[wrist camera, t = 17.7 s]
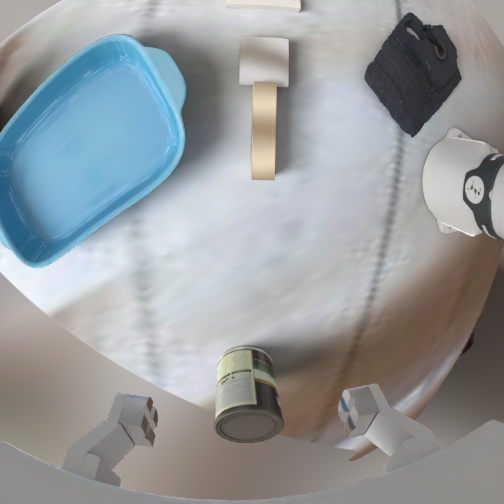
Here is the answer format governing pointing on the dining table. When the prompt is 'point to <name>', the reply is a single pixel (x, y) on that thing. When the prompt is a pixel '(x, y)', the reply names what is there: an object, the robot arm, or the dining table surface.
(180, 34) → the dining table surface
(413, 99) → the black folded cloth
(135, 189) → the casserole dish
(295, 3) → the tile
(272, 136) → the turner
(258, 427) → the coffee can
